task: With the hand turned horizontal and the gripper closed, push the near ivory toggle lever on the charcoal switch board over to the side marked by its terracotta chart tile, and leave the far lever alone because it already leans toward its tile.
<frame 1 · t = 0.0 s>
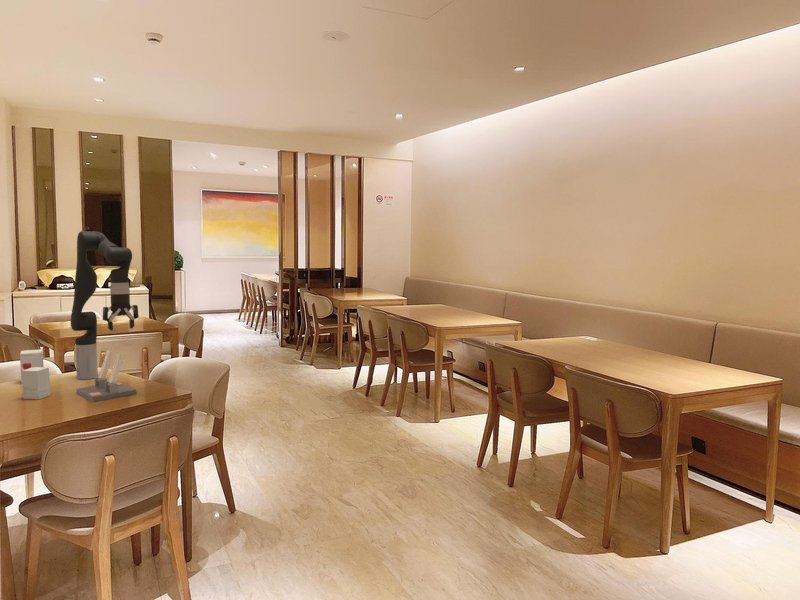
hand: (121, 329, 243), 29 cm above the table, tool pointing down, fingers open, 8 cm apart
supplement box: (36, 397, 239), on the table
switch base: (106, 393, 246), on the table
supplement box 2: (32, 381, 267), on the table
lever far: (105, 366, 251), point 11 cm above the table, hinge at -20.0°
lever near: (115, 370, 243), point 11 cm above the table, hinge at -20.0°
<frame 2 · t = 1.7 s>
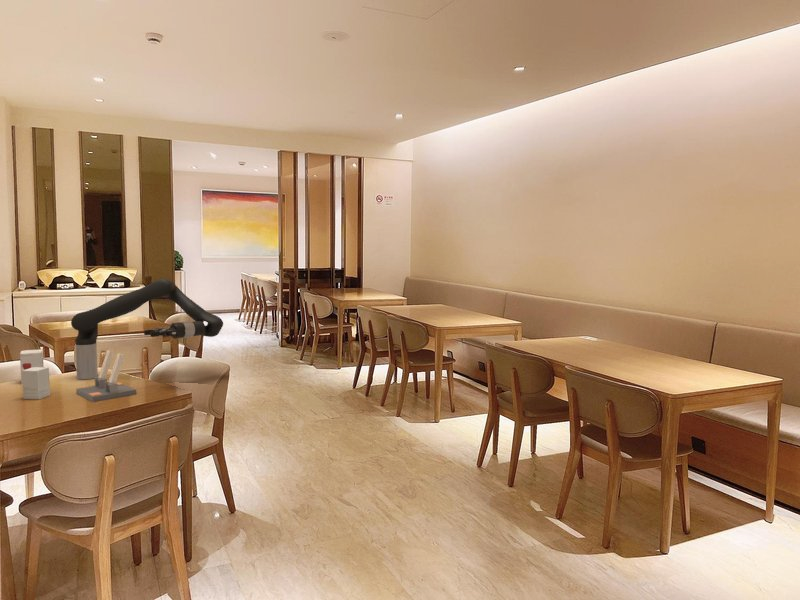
hand: (147, 333, 252), 26 cm above the table, tool horizontal, fingers open, 6 cm apart
nothing on the table moved.
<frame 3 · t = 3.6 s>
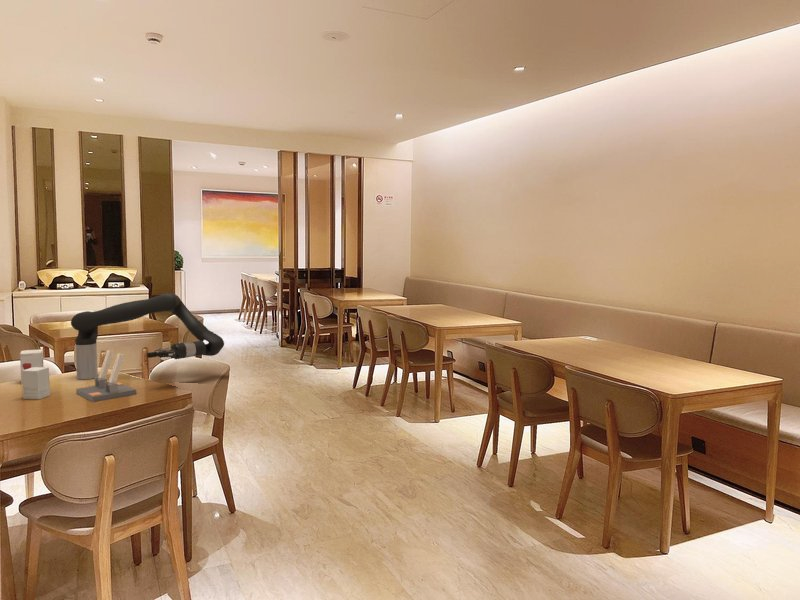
hand: (147, 355, 252), 16 cm above the table, tool horizontal, fingers closed
nothing on the table moved.
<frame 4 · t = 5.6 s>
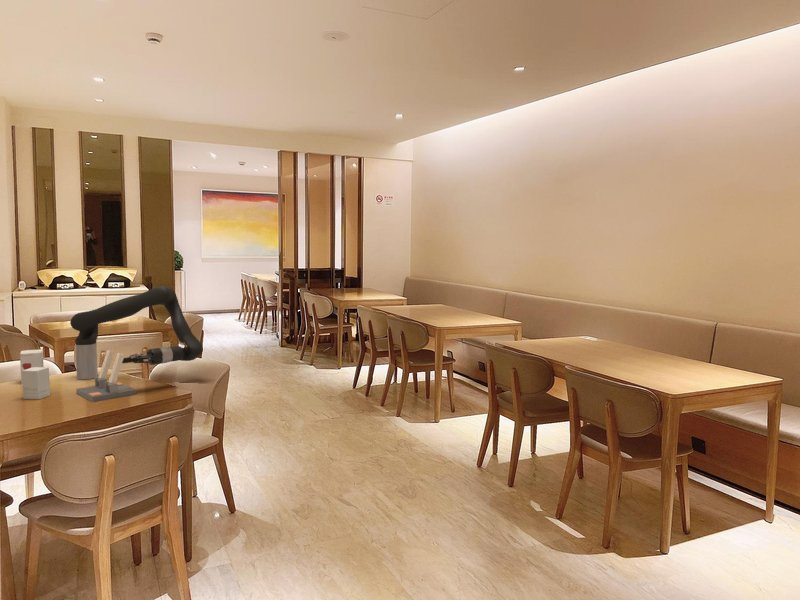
hand: (121, 361, 244), 15 cm above the table, tool horizontal, fingers closed
lever near: (115, 370, 243), point 11 cm above the table, hinge at -19.4°, touching gripper
everything else where it was.
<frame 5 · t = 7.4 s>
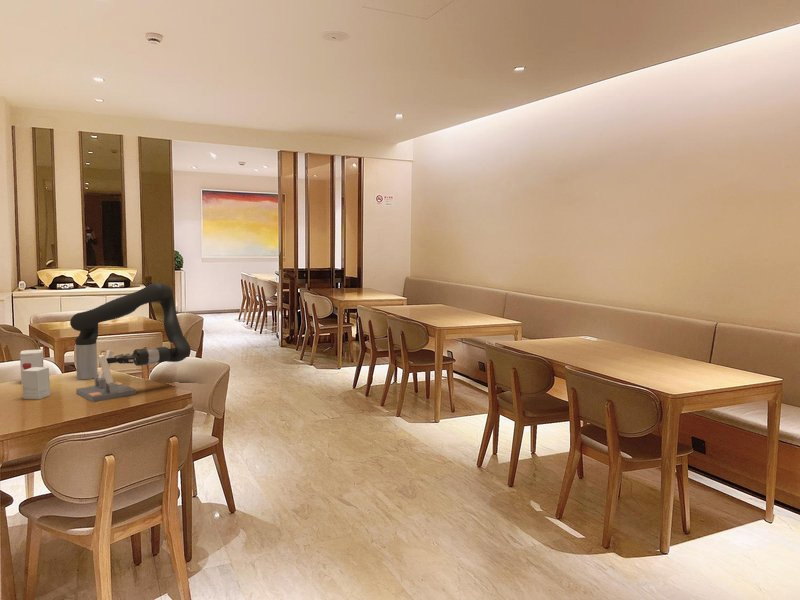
hand: (106, 361, 239), 16 cm above the table, tool horizontal, fingers closed
lever near: (106, 371, 240), point 11 cm above the table, hinge at 14.4°, touching gripper
everything else where it was.
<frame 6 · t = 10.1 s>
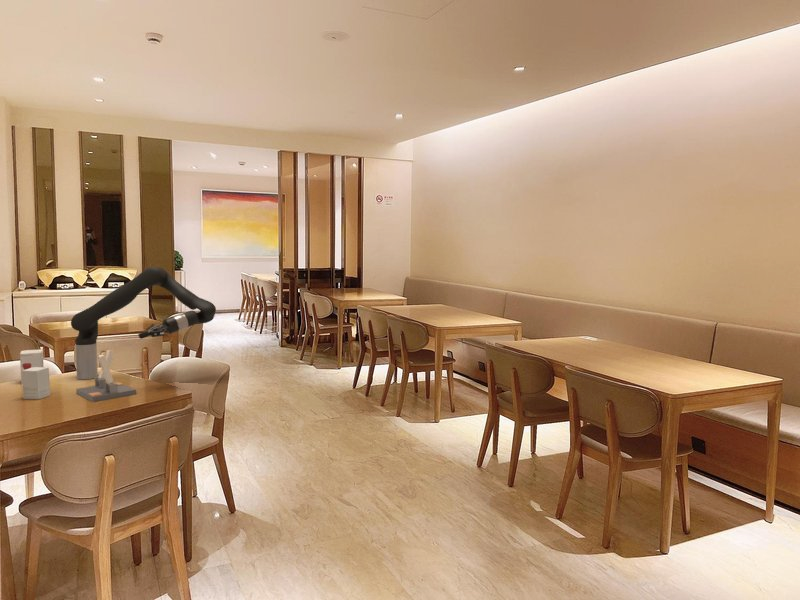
hand: (139, 336, 251), 25 cm above the table, tool tilted 75°, fingers closed
lever near: (106, 371, 240), point 11 cm above the table, hinge at 14.5°
everything else where it was.
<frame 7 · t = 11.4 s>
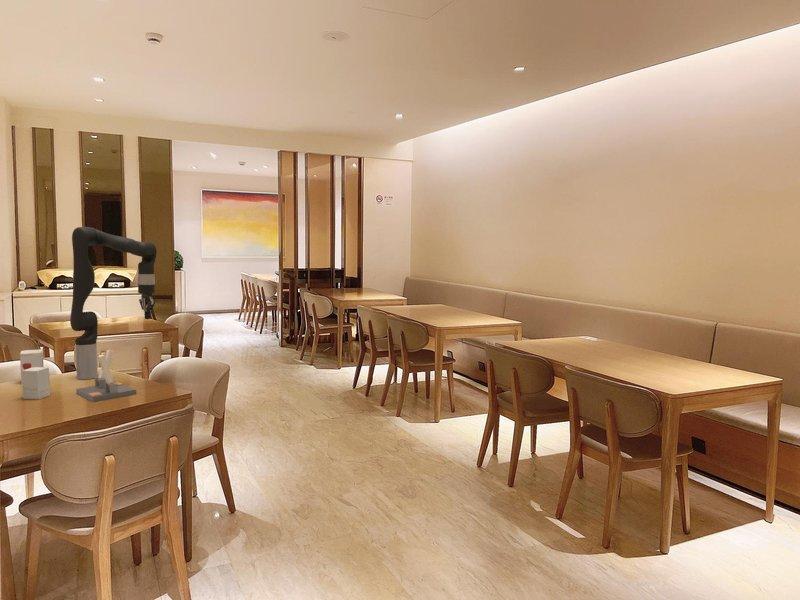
hand: (147, 319, 266), 31 cm above the table, tool pointing down, fingers closed
nothing on the table moved.
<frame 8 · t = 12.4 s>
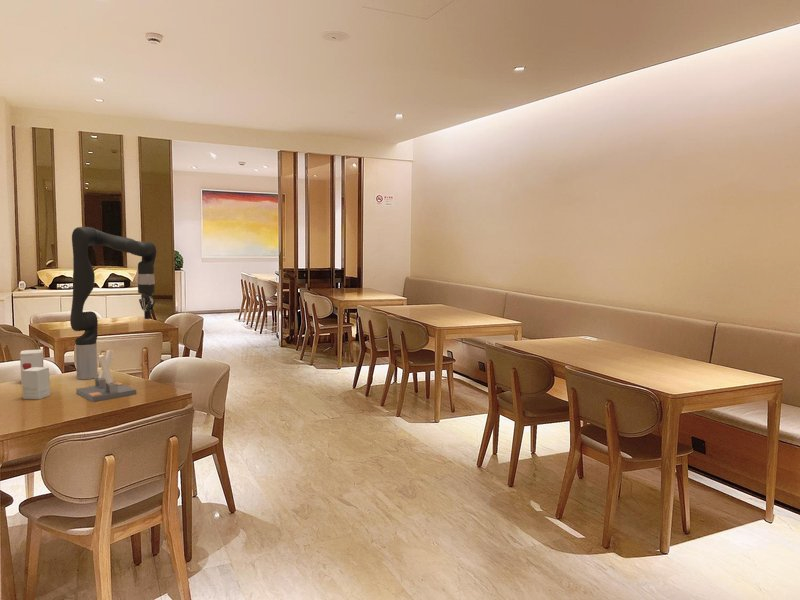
hand: (147, 318, 266), 31 cm above the table, tool pointing down, fingers closed
nothing on the table moved.
at the end: lever near at +14° (first picture: -20°); lever far at -20° (first picture: -20°) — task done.
